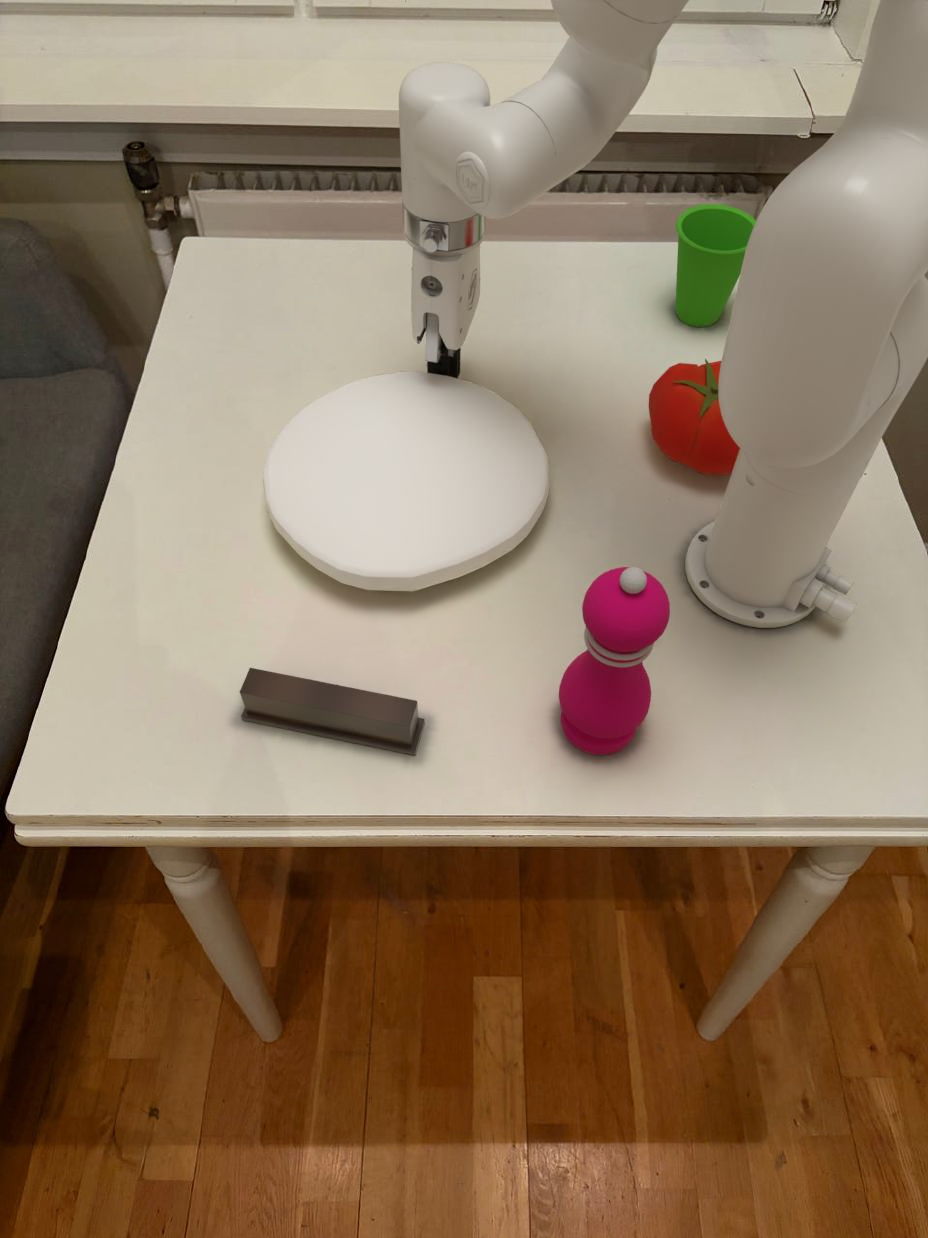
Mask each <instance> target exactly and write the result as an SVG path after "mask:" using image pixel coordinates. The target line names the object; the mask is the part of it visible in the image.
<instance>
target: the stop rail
mask: <svg viewBox="0 0 928 1238" xmlns="http://www.w3.org/2000/svg"><path fill="white" fill-rule="evenodd" d="M239 694H240V697H241V700H242V703H243V705H244V708H243V711H242V713H241V715H240V717H241V720H242V721H246V722H249V723H250V722H251V723H254V724H255V723H256V724H259V725H264V726H270V727H275V728H279V729H285V730H290V731H293V732H299V733H303V734H307V735H313V736H318V737H323V738H329V739H333V740H338V741H343V742H347V743H352V744H357V745H362V746H367V747H371V748H377V749H382V750H387V751H392V752H396V753H399V754H400V753H401V754H404V755H405V754H406V755H410V756H416V754H417V751H418V748H419V744H420V741H421V737H422V735H423V730H424V727H425V721H426V720H425V718H424V717H419V707H418V705H419V704H418V700H415V699H410V698H405V697H399V696H396V695H390V694H385V693H380V692H375V691H369V690H366V689H360V688H356V687H355V688H354V687H351V686H345V685H339V684H334V683H331V682H330V683H329V682H324V681H320V680H319V681H318V680H315V679H310V678H309V679H308V678H305V677H299V676H294V675H289V674H285V673H279V672H274V671H270V670H264V669H260V668H259V669H258V668H254V667H249V669H248V671H247V673H246V675H245V678H244V681H243V683H242V686H241V688H240V690H239Z"/></svg>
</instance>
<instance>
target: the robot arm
mask: <svg viewBox="0 0 928 1238" xmlns="http://www.w3.org/2000/svg"><path fill="white" fill-rule="evenodd" d="M689 1H690V0H550V2H551V6H552V10H553V12H554V15H555V17H556V19H557V21H558V22H559V24H560V26H561V28H562V29H563V30H564V32H565V33H566V35H567V36H568V38H567V40H566V42H565V43H564V45H563V47H562V49H561V50H560V52H559V53H558V54H557V56H556V58H555V60H554V61H553V63H552V64H551V66H550V68H549V69H548V70H547V71H546V73H544V75H543V77H541V78H540V79H539V80H537V81H535V82H534V83H532V84H530V85H528V86H526V87H525V88H523V89H521V90H520V91H518V92H516V93H515V94H513V95H511V96H509V97H508V98H506V99H504V100H503V101H501V102H499V103H495V104H491V92H490V88H489V85H488V82H487V81H486V79H485V77H484V76H483V75H482V74H481V73H480V72H479V71H477V70H476V69H474V68H473V67H471V66H469V65H466V64H462V63H459V62H454V61H453V62H452V61H435V62H434V61H433V62H428V63H424V64H421V65H419V66H417V67H415V68H414V69H412V70H411V71H410V72H408V73H407V74H406V75H405V76H404V78H403V80H402V81H401V84H400V86H399V90H398V121H399V125H398V126H399V148H400V150H399V151H400V174H401V175H400V176H401V177H400V178H401V198H402V199H401V207H402V208H401V209H402V233H403V238H404V240H405V241H406V243H407V244H408V245H409V246H410V247H411V248H412V256H411V257H412V258H411V269H410V270H411V285H410V286H411V289H410V290H411V293H410V295H411V296H410V300H411V301H410V305H411V306H410V307H411V308H410V309H411V313H410V315H411V317H410V318H411V333H412V338H413V340H414V342H415V343H416V344H417V345H419V344H420V343H422V340H423V338H424V336H425V351H424V361H425V362H426V373H431V374H438V375H444V376H450V377H454V378H457V379H459V376H460V374H461V354H462V353H461V351H462V350H461V349H462V346H463V345H464V344H465V341H466V338H467V336H468V333H469V330H470V328H471V325H472V322H473V319H474V316H475V313H476V311H477V308H478V304H479V301H480V296H481V244H482V243H483V241H484V239H485V236H486V218H487V219H491V220H500V219H505V218H508V217H511V216H513V215H515V214H516V213H518V212H520V211H521V210H523V209H524V208H526V207H527V206H529V205H530V204H532V203H533V202H535V201H536V200H537V199H539V198H540V197H542V196H544V195H545V194H546V193H548V192H549V191H550V190H552V189H553V188H554V187H556V186H558V185H559V184H561V183H562V182H564V181H565V180H567V179H568V178H569V177H571V176H572V175H574V174H576V173H577V172H579V171H580V170H581V169H583V168H584V167H586V166H587V165H588V164H589V163H590V162H592V161H593V160H594V159H595V158H596V157H597V156H598V155H599V154H600V152H601V151H602V150H604V148H605V146H606V145H607V143H608V142H609V141H610V140H611V139H612V137H614V135H615V133H616V132H617V130H618V129H619V128H620V127H621V126H622V124H623V122H624V121H625V120H626V118H627V117H628V116H629V114H630V113H631V111H632V110H633V109H634V108H635V106H636V104H637V103H638V101H639V100H640V99H641V97H642V95H643V94H644V92H645V90H646V88H647V86H648V84H649V82H650V80H651V78H652V77H651V76H652V73H653V70H654V67H655V64H656V61H657V56H658V46H659V45H660V43H661V41H662V40H663V38H664V37H665V36H666V35H667V33H668V31H669V30H670V28H671V27H672V26H673V24H674V23H675V22H676V20H677V18H678V17H679V16H680V14H681V13H682V11H683V10H684V9H685V7H686V6H687V4H688V3H689ZM927 273H928V0H880V1H879V3H878V6H877V8H876V11H875V15H874V18H873V21H872V25H871V28H870V33H869V38H868V42H867V47H866V51H865V56H864V59H863V62H862V65H861V68H860V72H859V75H858V78H857V81H856V85H855V88H854V92H853V94H852V97H851V99H850V102H849V106H848V108H847V110H846V113H845V115H844V118H843V120H842V122H841V124H840V125H839V127H838V128H837V129H836V131H835V132H834V133H833V134H832V135H831V136H830V137H829V138H828V139H827V141H826V142H824V144H823V145H821V147H820V148H818V149H817V150H815V151H814V152H813V153H812V154H811V155H810V156H808V157H807V158H806V159H805V160H804V161H803V162H801V163H800V164H798V166H796V167H795V168H794V169H793V170H792V171H790V172H789V174H788V175H787V176H786V177H785V178H784V179H783V180H782V181H781V182H780V183H779V184H778V185H777V187H775V189H774V190H773V191H772V193H771V194H770V196H769V197H768V198H767V201H766V202H765V204H764V206H763V207H762V209H761V210H760V213H759V214H758V217H757V219H756V223H755V225H754V228H753V230H752V233H751V235H750V238H749V241H748V244H747V248H746V251H745V256H744V260H743V264H742V268H741V273H740V276H739V278H738V281H737V287H736V291H735V292H736V293H735V296H734V301H733V305H732V311H731V314H730V319H729V324H728V325H729V326H728V329H727V334H726V338H725V342H724V348H723V353H722V357H721V360H720V361H721V367H720V374H719V385H718V397H719V405H720V410H721V415H722V418H723V421H724V423H725V426H726V428H727V430H728V432H729V434H730V435H731V437H732V439H733V440H734V441H735V443H736V444H737V445H738V446H739V447H740V450H739V453H738V456H737V459H736V462H735V465H734V468H733V471H732V474H730V477H729V480H728V483H727V486H726V489H725V492H724V495H723V498H722V501H721V503H720V507H719V509H718V512H717V514H716V518H715V520H713V521H712V522H710V523H708V524H707V525H705V526H703V527H701V529H700V530H699V531H697V533H695V535H694V536H693V538H692V539H691V541H690V543H689V546H688V548H687V551H686V555H685V561H684V571H685V575H686V579H687V582H688V583H689V586H690V588H691V589H692V592H693V593H694V594H695V595H696V596H697V598H698V599H699V600H700V601H701V602H702V603H703V604H704V606H706V607H707V608H708V609H709V610H711V611H712V612H714V613H716V614H717V615H718V616H720V617H722V618H724V619H726V620H728V621H731V622H733V623H736V624H739V625H742V626H746V627H750V628H751V627H752V628H760V629H774V628H780V627H785V626H789V625H792V624H795V623H798V622H799V621H801V620H802V619H805V618H806V617H807V616H809V615H810V614H811V613H812V612H813V611H814V610H815V608H818V609H820V610H821V611H824V612H826V614H827V615H828V616H830V617H833V618H834V619H836V620H838V621H840V622H842V623H844V624H847V621H848V620H849V618H850V617H851V615H852V614H853V612H854V610H855V609H856V607H857V605H858V604H857V603H856V602H854V601H852V600H849V599H848V598H847V597H844V596H847V595H848V594H849V592H850V590H851V589H852V588H853V585H854V584H855V582H854V581H853V580H851V579H849V578H847V577H845V576H843V575H839V574H838V573H835V572H834V571H832V570H831V566H829V565H828V564H826V563H827V561H828V559H829V557H830V556H831V553H832V549H831V548H829V547H827V545H828V543H830V539H831V538H832V535H833V534H834V532H835V530H836V527H837V525H838V524H839V521H840V519H841V518H842V516H843V514H844V512H845V510H846V507H847V506H848V504H849V502H850V500H851V497H852V496H853V493H854V492H855V489H856V488H857V486H858V483H859V482H860V480H861V478H862V476H864V473H865V471H866V469H867V467H868V465H869V463H870V461H871V459H872V457H873V456H874V453H875V452H876V450H877V447H878V445H879V444H880V442H881V440H882V438H883V437H884V434H885V432H886V431H887V429H888V427H889V425H890V424H891V422H892V420H893V419H894V416H895V415H896V413H897V412H898V410H899V408H901V407H900V406H901V405H902V404H903V402H904V400H905V398H906V397H907V395H908V393H909V391H910V390H911V388H913V387H912V386H914V383H915V382H916V380H917V378H918V376H919V375H920V373H921V371H922V369H923V367H924V366H925V364H926V362H927V360H928V278H927V277H926V276H925V275H926V274H927ZM826 585H827V586H829V587H830V588H832V589H833V590H834V591H837V592H839V593H841V594H843V595H844V596H842V595H840V594H836V593H834V592H832V591H831V590H829V589H827V588H826Z"/></svg>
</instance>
